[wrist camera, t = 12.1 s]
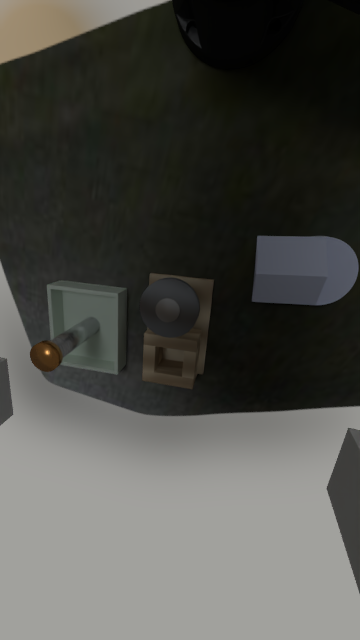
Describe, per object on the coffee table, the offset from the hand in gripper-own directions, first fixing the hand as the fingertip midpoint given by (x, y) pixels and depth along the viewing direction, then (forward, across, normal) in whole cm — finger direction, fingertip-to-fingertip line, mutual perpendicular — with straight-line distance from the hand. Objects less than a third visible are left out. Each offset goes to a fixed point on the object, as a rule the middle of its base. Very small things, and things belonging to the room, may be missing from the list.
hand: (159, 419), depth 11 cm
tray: (+36, -21, -12) cm, 43 cm away
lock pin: (+35, -21, -12) cm, 42 cm away
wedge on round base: (+36, +11, +2) cm, 38 cm away
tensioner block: (+36, -6, -9) cm, 37 cm away
